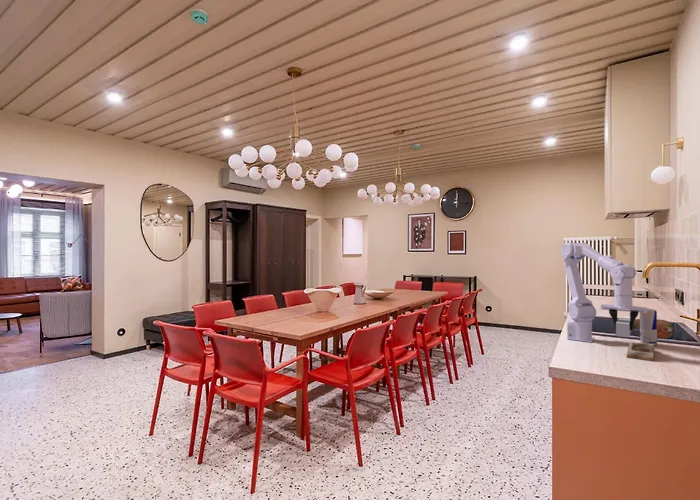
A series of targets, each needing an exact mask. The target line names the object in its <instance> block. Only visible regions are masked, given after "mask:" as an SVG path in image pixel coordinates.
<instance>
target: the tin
mask: <svg viewBox="0 0 700 500" xmlns="http://www.w3.org/2000/svg"><path fill="white" fill-rule="evenodd" d="M632 332H633V333H634V334H635V335H637V336H639V337H640V318H636V319H635V321H634V324H633V328H632ZM674 333H675V327H674V326H673V324H672V323H671V322H669V321H668V320H666V319H658V318H657V339H669V338H670V337H672V336H673V334H674Z"/></svg>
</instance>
